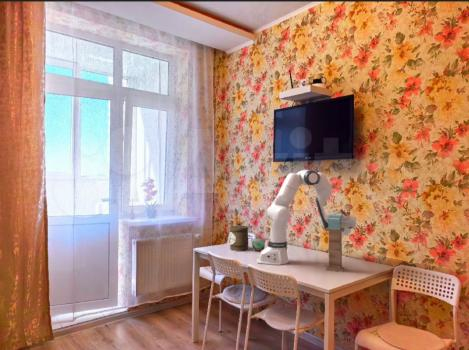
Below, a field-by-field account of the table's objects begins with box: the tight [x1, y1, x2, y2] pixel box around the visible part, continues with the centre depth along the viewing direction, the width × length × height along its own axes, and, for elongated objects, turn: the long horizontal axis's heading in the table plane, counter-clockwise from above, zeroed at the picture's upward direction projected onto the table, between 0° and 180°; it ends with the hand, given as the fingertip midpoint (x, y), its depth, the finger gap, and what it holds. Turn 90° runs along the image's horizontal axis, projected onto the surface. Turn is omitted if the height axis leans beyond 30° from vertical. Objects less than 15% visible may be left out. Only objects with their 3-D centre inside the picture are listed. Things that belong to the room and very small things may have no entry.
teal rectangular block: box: [328, 212, 342, 230], centre depth 213 cm, size 20×7×7 cm, turn 153°
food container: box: [250, 238, 267, 253], centre depth 261 cm, size 12×6×10 cm, turn 105°
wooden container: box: [229, 221, 249, 252], centre depth 269 cm, size 15×15×22 cm
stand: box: [325, 228, 346, 273], centre depth 209 cm, size 7×10×26 cm
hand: (338, 215), depth 219 cm, fingers closed on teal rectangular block, 3 cm apart
